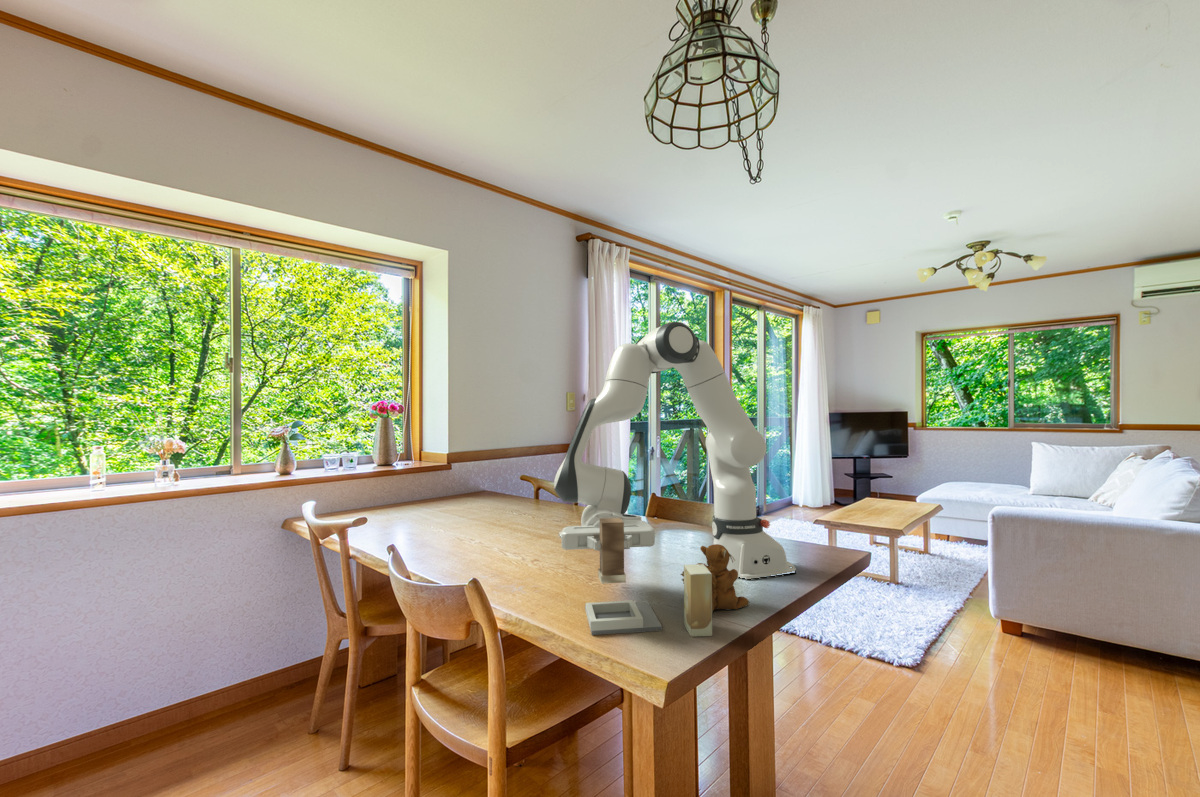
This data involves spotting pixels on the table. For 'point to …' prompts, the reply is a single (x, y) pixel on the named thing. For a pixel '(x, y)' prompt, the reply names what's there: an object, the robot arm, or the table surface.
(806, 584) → the table surface
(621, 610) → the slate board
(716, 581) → the stuffed squirrel
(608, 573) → the walnut box
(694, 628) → the skincare box
